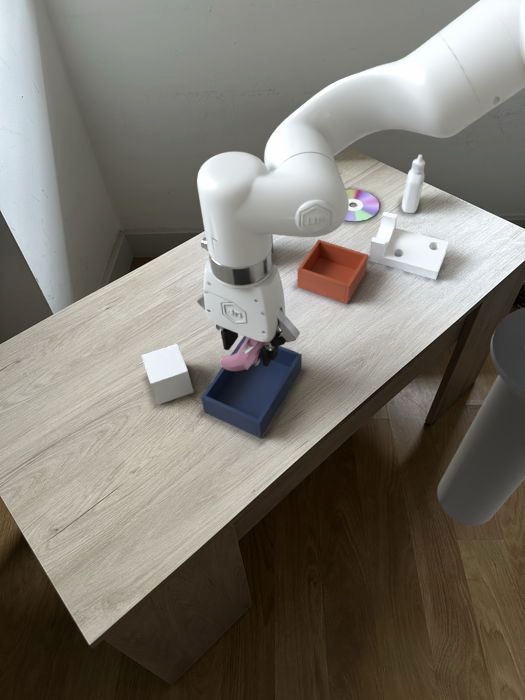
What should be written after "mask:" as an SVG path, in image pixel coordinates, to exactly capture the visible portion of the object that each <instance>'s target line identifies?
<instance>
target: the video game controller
mask: <svg viewBox="0 0 525 700" xmlns="http://www.w3.org/2000/svg"><path fill="white" fill-rule="evenodd" d="M262 346H264V343H263V342H261V341H257V340H254V339H251V338H249V337H246V339H245V341H244V342H243V344H242V345H241V347H240V349H239V350H238V352H237V353H236V354H234V355H231V354H230V355H231V356H230V355H226V356H223V357H222V358H221V359H220V361H219V364H220V366H221V368H222V367H223V368H224V369H226V370H229V371H241V370H244V369H246V370H247V369H248V368H249V367H250V366H251V365H253V364H255V363H256V364H255V366H257V365H258V364H259V362H260V359H259V360H258V356H259V353H260V351H261V348H262Z"/></svg>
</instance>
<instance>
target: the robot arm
mask: <svg viewBox="0 0 525 700" xmlns="http://www.w3.org/2000/svg"><path fill="white" fill-rule="evenodd" d="M524 89H525V0H478V1H477V2H475V4H473V5H471V6H470V7H469V8H468V9H466V10H465V11H464V12H463V13H462V14H460V15H459V16H458V17H456V18H455V19H454V20H452V21H451V22H450V23H448V24H447V25H445V26H444V27H443V28H442V29H441V30H439V31H438V32H437V33H435V34H434V35H433V36H432V37H430V38H429V39H428V40H426V41H425V42H424V43H422V44H421V45H420V46H418V47H417V48H416V49H414V50H413V51H412V52H410V53H409V54H408V55H406V56H404V57H402V58H400V59H398V60H395V61H392V62H388V63H383V64H380V65H376V66H374V67H370V68H368V69H365V70H363V71H360V72H356V73H354V74H351V75H348V76H346V77H343V78H341V79H338V80H336V81H335V82H332V83H331V84H329V85H327V86H326V87H324V88H323V89H321V90H320V91H319V92H317V93H316V94H314V95H313V96H312V97H310V98H309V99H308V100H306V101H305V103H303V104H302V105H301V106H300V107H298V108H296V110H294V111H293V112H292V113H291V114H289V115H288V117H286V118H285V119H284V120H283V121H282V122H281V123H280V124H279V125H278V126H276V129H275V130H274V131H273V132H272V134H271V135H270V137H269V138H268V141H267V142H266V145H265V148H264V154H263V161H262V159H260V158H259V157H258V156H256V155H254V154H251V153H248V152H245V151H236V150H235V151H225V152H222V153H219V154H216V155H214V156H212V157H210V158H208V159H207V160H206V161H205V162H204V163H203V164H202V165H201V166H200V168H199V170H198V173H197V178H196V186H197V192H198V198H199V205H200V211H201V217H202V224H203V230H204V235H205V237H203V238H202V240H201V242H200V247H201V248H202V249H205V250H206V251H207V253H208V259H207V260H206V261H205V264H204V272H203V285H202V286H203V287H202V288H203V294H201V295H200V297H199V298H198V299H197V301H196V302H197V304H198V305H199V306H200V307H201V308H202V309H203V310H204V311H205V314H206V317H207V319H208V320H209V321H210V322H211V323H212V324H214V325H215V328H216V330H217V331H219V332H220V337H221V340H222V346H223V350H225V351H229V350H230V349H231V348H232V347H233V345H234V344H235V342H237V339H238V338H239V335H241V336H243V337H244V336H246V337H249V338H251V339H254V340H257V341H261V342H263V343H264V346H263V347H262V362H263V365H264V366H266V367H267V366H268V365H269V363H270V362H271V360H275V359H276V357H277V355H278V352H279V351H278V346H284V345H285V344H286V343H291V342H295V341H296V340H297V339H298V337H299V335H300V334H301V331H300V330H299V329H298V328H297V327H296V326H295V325H294V323H293V322H292V321H291V320H290V319H289V318H288V317H287V316H286V302H285V301H286V300H285V293H284V288H283V283H282V278H281V274H280V271H279V268H278V266H277V264H274V262H273V259H274V258H273V257H274V255H273V256H272V235H273V236H274V235H276V236H285V237H295V238H318V237H322V236H327V235H330V234H331V233H334V232H335V231H336V230H337V229H338V228H340V227H341V226H342V225H343V223H344V222H345V221H346V220H345V218H346V216H347V213H348V209H349V206H350V204H349V201H348V195H347V191H346V190H347V189H346V186H345V183H344V180H343V179H342V176H341V173H340V171H339V167H338V165H337V162H336V160H335V159H336V158H335V156H337V155H338V154H339V153H341V152H342V151H343V150H345V149H347V147H349V146H351V145H352V144H354V143H355V142H356V141H359V140H360V139H362V138H364V137H366V136H368V135H371V134H374V133H378V132H382V131H387V130H400V131H401V130H402V131H408V132H412V133H416V134H420V135H424V136H429V137H433V138H438V139H446V138H451V137H453V136H456V135H457V134H459V133H460V132H461V131H463V130H464V129H466V128H467V127H468V126H470V125H471V124H473V123H475V122H476V121H478V120H479V119H480V118H483V116H484V115H486V114H487V113H489V112H490V111H492V110H494V108H495V109H496V108H497V107H498V106H499V105H500V104H503V103H504V102H505V101H507V100H509V99H510V98H511V97H513V96H515V95H516V94H517V93H519V92H520V91H521V90H524Z"/></svg>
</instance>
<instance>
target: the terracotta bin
mask: <svg viewBox="0 0 525 700" xmlns="http://www.w3.org/2000/svg"><path fill="white" fill-rule="evenodd" d="M368 262H369V254H368V253H363V252H360V251H357V250H354V249H351V248H347V247H344V246H341V245H338V244H335V243H332V242H328V241H325V240H322V239H317V241H316V242H315V244H314V245H313V247H312V248H311V249H310V251H308V254H307V255H306V257H305V258H304V259H303V261H302V262H301V264H300V265H299V267H298V268H297V283H296V284H297V285H296V286H297V288H300V289H302V290H305V291H308V292H310V293H311V292H312V293H314V294H317V295H319V296H323V297H325V298H328V299H330V300H334V301H336V302H340V303H343V304H346V305H348V304H349V302H350V300H351V299H352V297H353V295H354V293H355V292H356V290H357V289H358V287H359V285H360V284H361V282H362V280H363V278H364V277H365V275H366V273H367V266H368Z"/></svg>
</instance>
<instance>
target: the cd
mask: <svg viewBox="0 0 525 700" xmlns="http://www.w3.org/2000/svg"><path fill="white" fill-rule="evenodd" d="M346 191H347V195H348V201H349V209H348V213H347V216H346V218H345V220H344V221H347V222H362V221H367V220H369V219H372V218H373V217H375V216H376V214H377V213H378V212H379V210H380V202H379V201H378V199H377V198H376V197H375V196H374V195H373V194H371V193H370V192H368V191H364V190H361V189H346ZM353 203H354V204H356V206H354V207H352V206H351V204H353Z"/></svg>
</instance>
